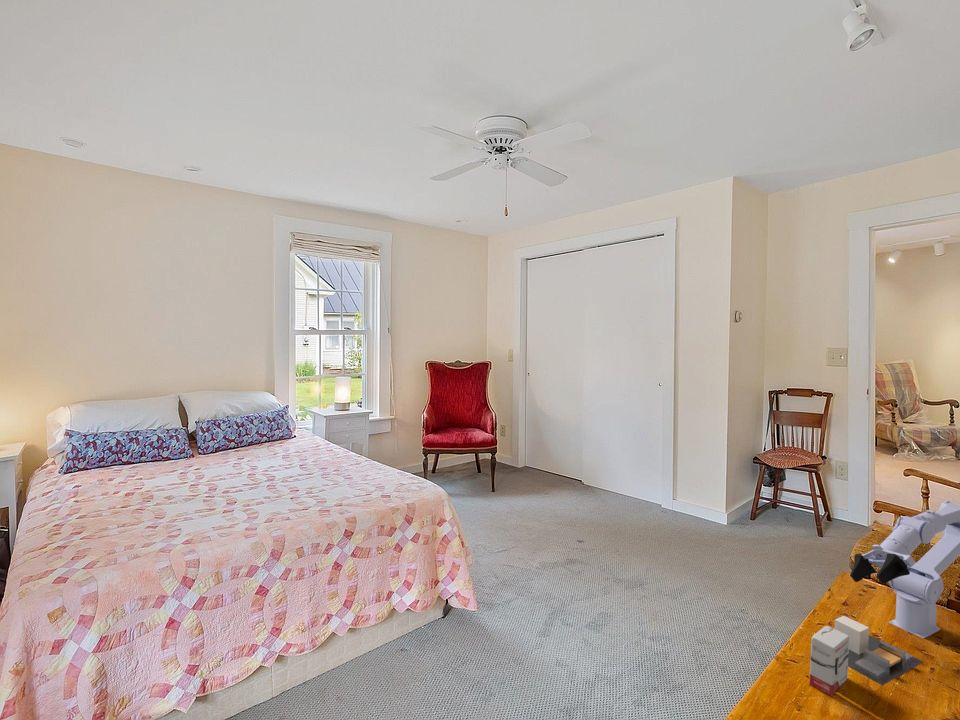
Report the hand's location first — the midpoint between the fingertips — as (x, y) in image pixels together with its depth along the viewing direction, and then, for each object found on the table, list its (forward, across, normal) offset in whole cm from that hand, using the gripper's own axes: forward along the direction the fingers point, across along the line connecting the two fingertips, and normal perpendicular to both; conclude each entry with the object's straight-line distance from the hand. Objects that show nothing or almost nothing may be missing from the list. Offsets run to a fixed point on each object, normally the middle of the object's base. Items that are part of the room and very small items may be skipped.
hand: (866, 579), depth 129 cm
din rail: (+10, -6, +15) cm, 19 cm away
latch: (+9, -1, +16) cm, 18 cm away
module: (+10, -8, +13) cm, 18 cm away
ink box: (+26, -1, +10) cm, 28 cm away
